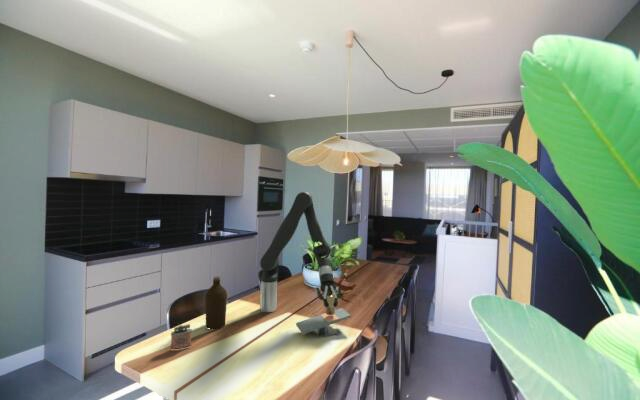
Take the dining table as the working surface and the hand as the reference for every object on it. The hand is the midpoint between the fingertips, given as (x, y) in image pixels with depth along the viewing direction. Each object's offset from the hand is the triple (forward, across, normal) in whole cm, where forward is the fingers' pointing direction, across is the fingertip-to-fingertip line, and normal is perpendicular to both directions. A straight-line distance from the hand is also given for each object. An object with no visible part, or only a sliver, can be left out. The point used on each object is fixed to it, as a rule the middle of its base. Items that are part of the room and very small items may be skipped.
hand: (331, 306), depth 143 cm
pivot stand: (+8, -4, +10) cm, 13 cm away
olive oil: (-2, -57, +20) cm, 61 cm away
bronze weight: (+2, 0, +4) cm, 4 cm away
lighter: (+12, -69, +6) cm, 70 cm away
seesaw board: (+5, -4, +6) cm, 9 cm away
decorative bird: (-29, +22, +48) cm, 60 cm away
